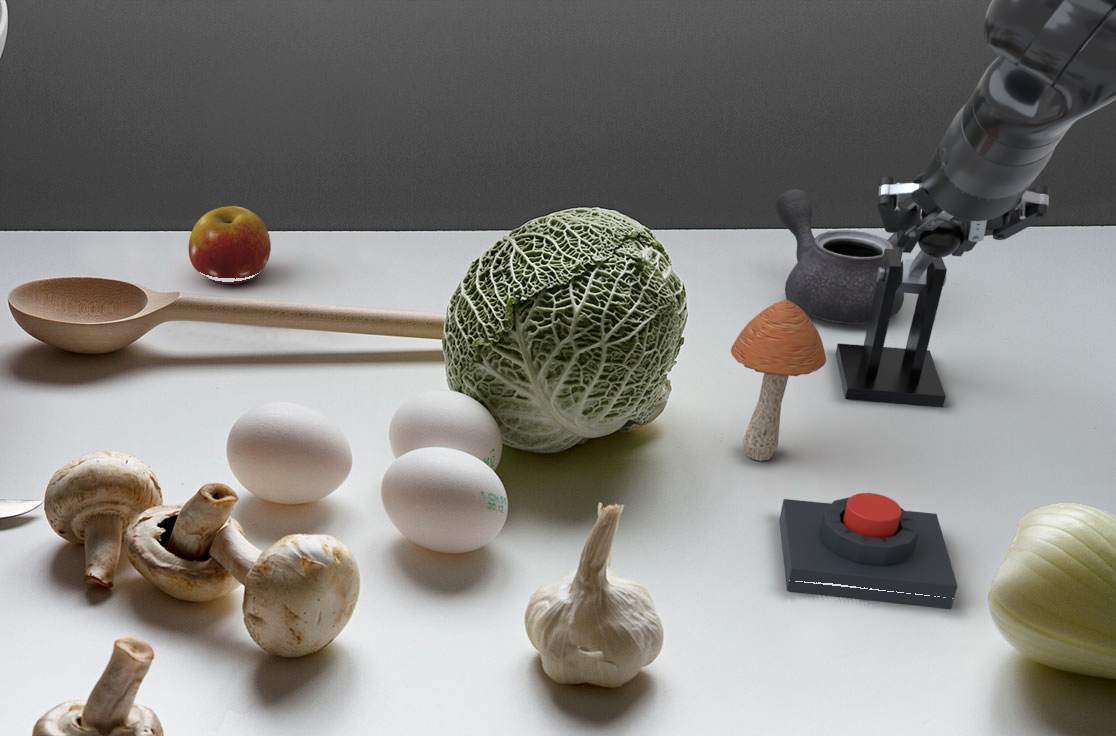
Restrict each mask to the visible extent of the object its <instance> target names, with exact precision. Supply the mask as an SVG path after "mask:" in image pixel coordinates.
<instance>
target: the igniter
mask: <svg viewBox="0 0 1116 736" xmlns="http://www.w3.org/2000/svg"><path fill="white" fill-rule="evenodd" d="M848 498H849V497H848ZM900 507H901V506H900V505H899V503H898V502H896V501H895V500H894V499H892V498H890V497H888V496H886V495H883V494H879V493H873V492H860V493H856V494H853V495H852V496H850V498H849V499H848V501H847V505H846V510H845V514H844V519H843V522H844V525H845V526H846V527H847V528H848V529H849V530H850V531H853V532H855V533H858V534H861V535H863V536H866V537H874V538H887V537H891V536H893V535H894V534H895V533H896V532H897V529H898V525H899V521H900V517H901V513H902V511H901V508H902V507H901V508H900Z"/></svg>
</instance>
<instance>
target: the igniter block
mask: <svg viewBox="0 0 1116 736" xmlns="http://www.w3.org/2000/svg"><path fill="white" fill-rule="evenodd" d="M850 497H851V496H850ZM850 497H844V498H841V499H836V500H833V501H832V502H831V503H830V502H821V501H811V500H798V499H790V498H789V499H788V498H784V499H783V500H782V505H781V510H780V515H779V521H778V522H779V529H780V539H781V548H782V549H781V550H782V557H783V567H784V575H785V576H784V577H785V587H786V591H787V592H793V593H802V594H803V593H804V594H813V595H821V596H831V597H839V598H840V597H841V598H850V599H858V600H867V601H876V602H886V603H895V604H905V605H914V606H922V607H932V608H941V609H942V608H943V609H949V610H950V609H952V607H953V603H954V599H955V596H956V593H957V589H958V583H957V579H956V575H955V572H954V569H953V566H952V562H951V558H950V555H949V552H948V548H947V545H946V541H945V538H944V535H943V532H942V528H941V524H940V521H939V517H938V515H937V513H934V512H923V511H914V510H906V509H904V508H902V507H901V506H900V508H901V511H902V513H901V517H900V521H899V525H898V529H897V532H896V533H895V534H894V535H893V536H891V537H887V538H874V537H866V536H863V535H861V534H858V533H855V532H853V531H850V530H849V529H848V528H847V527H846V526H845V525H844V522H843V519H844V514H845V510H846V505H847V501H848V499H849V498H850ZM789 580H790V581H789ZM795 581H803V582H795ZM804 581H805V582H815V583H816V582H817V583H818V582H821V583H833V584H841V585H848V586H856V587H861V588H864V587H865V588H868V589H860V588H850V587H841V586H832V585H823V584H813V583H804ZM870 588H872V589H879V590H886V591H878V590H869V589H870ZM887 591H894V592H887ZM896 591H897V592H904V593H897V592H896ZM906 593H911V594H906ZM915 593H916V594H923V595H915ZM924 595H930V596H924ZM934 596H936V597H934ZM937 596H940V597H937ZM943 597H946V598H943ZM952 598H954V599H952Z"/></svg>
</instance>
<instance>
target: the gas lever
mask: <svg viewBox="0 0 1116 736" xmlns="http://www.w3.org/2000/svg"><path fill="white" fill-rule="evenodd" d="M962 237H963V233H962V229H961V226H960V223H959V221H957V220H949V221H944V222H943V223H941V224H940V225H939V226H938V227H936V228H935V229H934V230H932V231H924V232H923V233H922V234H921V237H920V239H919V241H918V242H917V244H918V246H919V248H920V250H919V252H918V253H917V255H916V256H915V258H914V259H913V258H903V259H901V263H900V264H901V272H900V276H899V280H898V285H897V289H896V293H904V294H911V295H912V294H913V295H918V294H919V293H920V292H921V290H922V289H923V288H924V286H925V285H926V282H927V267H928V266H929V265H930V263H931V262H932V260H933V259H934V258H935V257H936V258H941V257H942V258H945V257H949V256H950V255H952V253H954V252H955V251H956V250H957V249H958V247H959V246H960V244H961V242H962Z"/></svg>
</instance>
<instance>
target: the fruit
mask: <svg viewBox="0 0 1116 736" xmlns="http://www.w3.org/2000/svg"><path fill="white" fill-rule="evenodd" d="M271 251H272V243H271V237H270V234H269V231H268V229H267V226H266V225H265V223H264V221H262V219H261V218H260V217H259V216H258V215H257V214H256V213H255V212H253V211H251V210H250V209H248V208H245V207H241V206H237V205H233V206H230V205H229V206H222V207H217V208H215V209H212V210H210V211H208V212H206V213H205V214H203V216H201V217H200V218H199V219H198V220H197V221H196V223H195V224H194V226H193V228H192V230H191V233H190V236H189V240H188V257H189V261H190V263H191V265H192V267H193V268H194V270H195V271H196V270H197V271H196V272H197V273H199V272H201V273H203V274H205V275H209V276H212V277H218V278H235V279H236V278H245V277H249V276H252V275H255V274H257V273H259V272H260V271H261V270H262V271H263V270H264V269H265V268H266V266H267V264H268V262H269V260H270V256H271ZM262 271H261V272H262ZM261 272H260V273H261ZM260 273H259V274H260ZM257 276H258V275H256V276H255V277H253V278H250V279H246V280H242V281H234V282H222V281H215V280H211V279H209V280H210V281H212V282H215V283H219V284H225V285H238V284H243V283H247V282H249V281H251V280H254V279H255V278H256V277H257Z"/></svg>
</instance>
